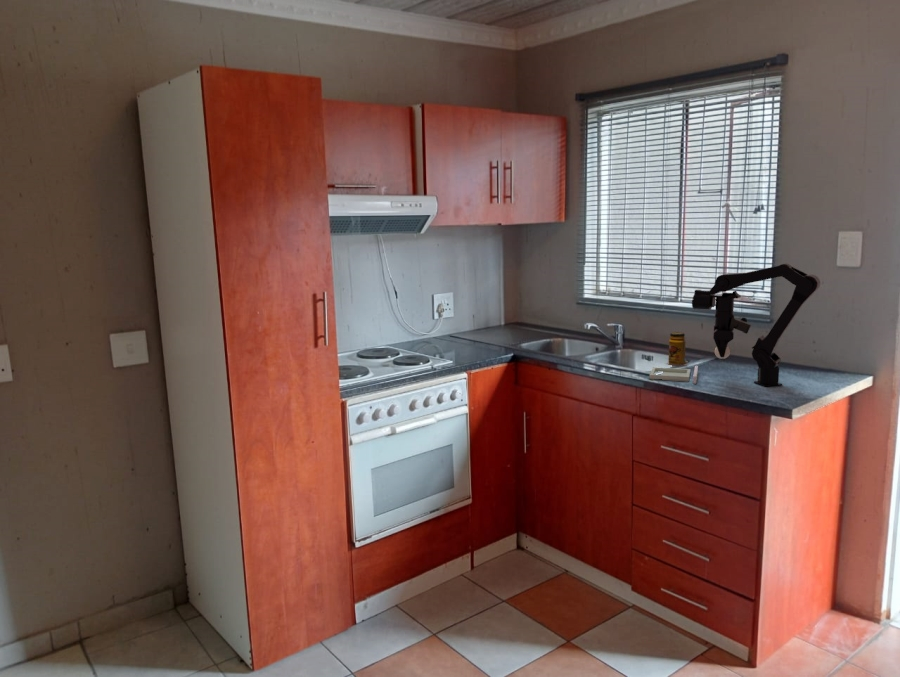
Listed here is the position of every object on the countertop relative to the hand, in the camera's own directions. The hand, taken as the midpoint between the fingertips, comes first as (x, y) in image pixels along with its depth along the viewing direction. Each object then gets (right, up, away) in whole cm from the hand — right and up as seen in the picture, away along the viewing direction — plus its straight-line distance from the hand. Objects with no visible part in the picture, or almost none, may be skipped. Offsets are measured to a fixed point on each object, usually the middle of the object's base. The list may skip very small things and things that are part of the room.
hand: (722, 355), depth 236 cm
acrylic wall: (-8, -8, +4) cm, 12 cm away
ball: (0, +1, 0) cm, 2 cm away
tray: (-16, -8, +7) cm, 19 cm away
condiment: (-6, -4, +29) cm, 30 cm away
